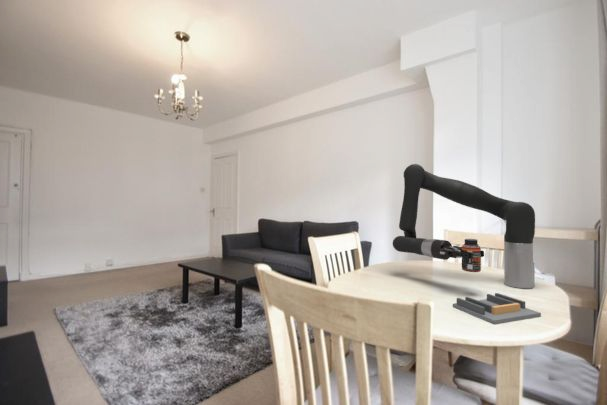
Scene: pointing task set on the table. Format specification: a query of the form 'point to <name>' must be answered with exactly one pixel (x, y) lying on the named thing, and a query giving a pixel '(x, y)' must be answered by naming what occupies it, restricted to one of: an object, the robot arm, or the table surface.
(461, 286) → the table surface
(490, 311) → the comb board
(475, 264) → the supplement bottle
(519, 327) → the table surface
